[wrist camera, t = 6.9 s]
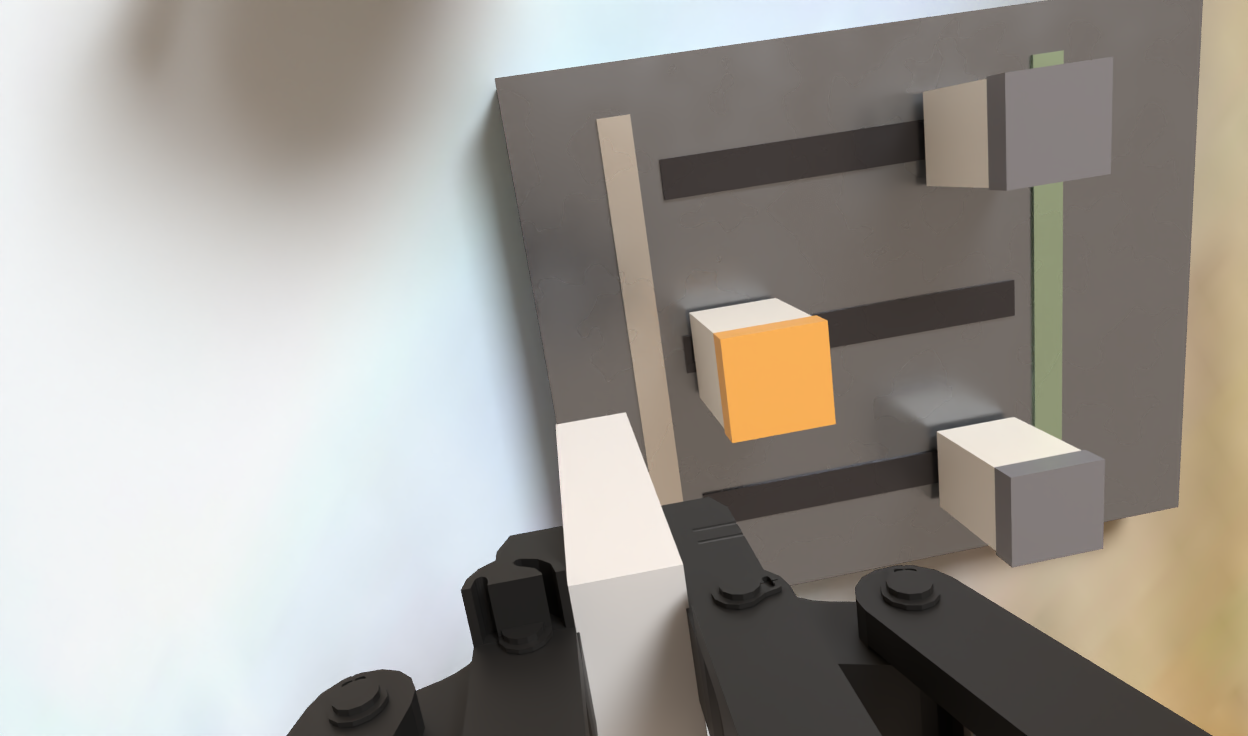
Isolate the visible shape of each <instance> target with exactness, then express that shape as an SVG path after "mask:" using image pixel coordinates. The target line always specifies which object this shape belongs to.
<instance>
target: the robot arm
mask: <svg viewBox="0 0 1248 736" xmlns="http://www.w3.org/2000/svg"><path fill="white" fill-rule="evenodd" d="M556 437H557V451H558V464H559V478H560V491H561V504H562V518H563V526H560V527H555V528H549V529H544V530H539V531H533V532H528V533H522V534H517V535H512V536H510V537H509V538H508V539H507V540H506V541H505V543H504V544H503V545H502V546H501V548H500V549H499V550H498V551H497V554H496V561H494V562H492V563H490V564H488V565H486V566H484V567H482V568H480V569H478V570H477V571H476V572H475V573H473V574H472V575H471V576H470V577H469V578H468V579H467V580H466V581H465V583H464V585H463V587H462V589H461V593H462V597H463V602H464V606H465V610H466V615H467V619H468V623H469V628H470V632H471V637H472V641H473V645H474V650H473V657H472V662H471V663H470V664H469V665H467V666H466V667H464V668H463V669H461V670H460V671H458V672H457V673H455V674H453V675H451V676H449V677H447V678H445V679H443V680H441V681H439V682H436V683H434V684H432V685H429V686H427V687H424V688H422V689H419V690H417V691H416V690H415V687H414V684H413V681H412V679H411V677H409V676H407V675H405V674H404V673H402V672H400V671H394V670H384V669H381V670H376V671H370V672H363V673H360V674H356V675H354V676H353V677H348V678H346V679H344V680H342V681H340V682H339V683H337V684H336V685H334V686H332V687H331V688H329V689H328V690H326V691H325V692H323V693H322V694H321V695H320V696H319V697H318V698H317V699H316V700H315V701H314V702H313V703H312V704H311V705H310V706H309V707H308V708H307V709H306V710H305V712H304V713H303V714H302V716H301V717H300V718H299V720H298V721H297V722H296V724H295V725H294V726H293V728H292V729H291V730H290V732H289V733H288V734H287V736H707V730H706V724H707V727H708V731H709V734H710V736H1212V735H1210V734H1209V733H1207V732H1205V731H1204V730H1202V729H1201V728H1199V727H1197V726H1196V725H1194V724H1192V723H1191V722H1189V721H1187V720H1186V719H1184V718H1183V717H1181V716H1179V715H1178V714H1176V713H1174V712H1173V711H1171V710H1169V709H1168V708H1166V707H1164V706H1163V705H1161V704H1160V703H1158V702H1156V701H1155V700H1153V699H1151V698H1150V697H1148V696H1146V695H1145V694H1143V693H1142V692H1140V691H1138V690H1137V689H1135V688H1133V687H1132V686H1130V685H1128V684H1127V683H1125V682H1123V681H1122V680H1120V679H1119V678H1117V677H1115V676H1114V675H1112V674H1110V673H1109V672H1107V671H1105V670H1104V669H1102V668H1100V667H1099V666H1097V665H1096V664H1094V663H1092V662H1091V661H1089V660H1087V659H1086V658H1084V657H1082V656H1081V655H1079V654H1078V653H1076V652H1074V651H1073V650H1071V649H1069V648H1068V647H1066V646H1064V645H1063V644H1061V643H1059V642H1058V641H1056V640H1055V639H1053V638H1051V637H1050V636H1048V635H1046V634H1045V633H1043V632H1041V631H1040V630H1038V629H1037V628H1035V627H1033V626H1032V625H1030V624H1028V623H1027V622H1025V621H1023V620H1022V619H1020V618H1018V617H1017V616H1015V615H1014V614H1012V613H1010V612H1009V611H1007V610H1005V609H1004V608H1002V607H1000V606H999V605H997V604H995V603H994V602H992V601H991V600H989V599H987V598H986V597H984V596H982V595H981V594H979V593H977V592H976V591H974V590H973V589H971V588H969V587H968V586H966V585H964V584H963V583H961V582H959V581H958V580H956V579H954V578H953V577H951V576H948V575H946V574H944V573H941V572H939V571H937V570H934V569H928V568H923V567H918V566H914V565H905V566H902V565H898V566H891V567H887V568H883V569H878V570H875V571H873V572H871V573H869V574H868V575H866V576H864V577H862V578H861V580H860V581H859V583H858V584H857V585H856V587H855V594H856V602H826V601H812V600H807V599H803V598H798V597H797V596H796V595H795V593H794V592H793V590H792V588H791V587H790V585H789V584H788V583H787V582H786V581H785V580H784V579H783V578H782V577H781V576H779V575H776V574H774V573H771V572H769V571H766V570H764V569H763V567H762V565H761V564H760V562H759V560H758V559H757V557H756V555H755V553H754V552H753V550H752V548H751V546H750V545H749V543H748V541H747V540H746V538H745V536H743V533H742V531H741V529H740V527H739V526H738V524H736V520H735V519H734V517H733V515H732V514H731V512H730V510H729V508H728V507H727V506H725V505H723V504H721V503H720V502H718V501H716V500H714V499H712V498H710V497H705V498H700V499H694V500H689V501H683V502H678V503H672V504H667V505H662V506H661V504H660V502H659V499H658V496H657V494H656V491H655V489H654V486H653V483H652V481H651V478H650V475H649V473H648V470H647V467H646V465H645V462H644V459H643V457H642V454H641V451H640V449H639V446H638V443H637V441H636V438H635V435H634V433H633V430H632V427H631V425H630V422H629V419H628V417H627V414H626V412H625V413H619V414H613V415H607V416H602V417H596V418H590V419H585V420H579V421H573V422H568V423H562V424H556ZM705 721H706V722H705Z"/></svg>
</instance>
